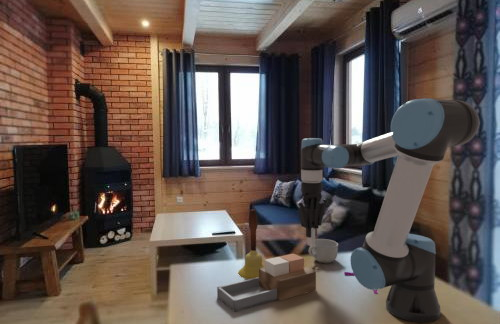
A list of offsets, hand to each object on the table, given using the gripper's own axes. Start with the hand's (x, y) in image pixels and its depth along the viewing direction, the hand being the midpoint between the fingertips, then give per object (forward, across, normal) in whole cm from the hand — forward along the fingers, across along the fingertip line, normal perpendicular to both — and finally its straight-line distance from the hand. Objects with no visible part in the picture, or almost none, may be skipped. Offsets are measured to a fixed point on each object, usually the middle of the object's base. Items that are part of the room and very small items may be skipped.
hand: (311, 245), depth 138 cm
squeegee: (+14, -17, +7) cm, 23 cm away
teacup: (+14, -17, -13) cm, 26 cm away
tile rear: (+7, +9, 0) cm, 11 cm away
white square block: (+7, +16, 0) cm, 17 cm away
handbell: (+14, +14, -17) cm, 26 cm away
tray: (+13, +27, +1) cm, 30 cm away
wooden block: (+13, +12, +1) cm, 17 cm away
